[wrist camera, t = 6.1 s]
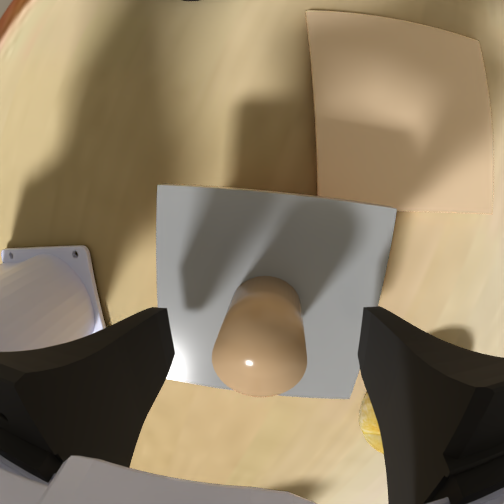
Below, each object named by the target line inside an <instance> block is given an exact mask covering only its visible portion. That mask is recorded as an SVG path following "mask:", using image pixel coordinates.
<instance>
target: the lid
mask: <svg viewBox="0 0 504 504" xmlns="http://www.w3.org/2000/svg"><path fill="white" fill-rule="evenodd" d="M396 212H397V209H396V208H394V207H391V206H387V205H380V204H374V203H367V202H360V201H353V200H346V199H338V198H330V197H322V196H314V195H305V194H296V193H287V192H277V191H266V190H255V189H244V188H231V187H218V186H203V185H186V184H166V183H165V184H159V185H157V214H156V266H157V299H158V308H167V311H168V317H169V323H170V328H171V334H172V339H173V345H174V350H175V355H174V359H173V362H172V365H171V368H170V371H169V374H168V376H167V378H166V379H170V380H175V381H180V382H186V383H191V384H197V385H202V386H208V387H215V388H221V389H228V390H234V391H236V392H239V393H241V394H244V395H248V396H253V397H270V396H275V395H280V396H292V397H308V398H329V399H350V396H351V393H352V390H353V387H354V385H355V382H356V379H357V376H358V373H359V370H360V365H359V360H358V355H357V354H358V347H359V340H360V333H361V325H362V316H363V307H377V306H378V303H379V299H380V295H381V290H382V286H383V282H384V277H385V273H386V268H387V263H388V258H389V253H390V248H391V242H392V237H393V231H394V225H395V219H396Z"/></svg>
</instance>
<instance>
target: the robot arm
mask: <svg viewBox="0 0 504 504" xmlns="http://www.w3.org/2000/svg"><path fill="white" fill-rule="evenodd" d="M75 251H76V252H77V253H78V256H77V255H76V253H75ZM1 256H2V261H3V263H2V264H0V504H317V503H315V502H313V501H311V500H308V499H305V498H303V497H300V496H298V495H295V494H293V493H291V492H287V491H278V490H270V489H263V488H257V487H246V486H232V485H222V484H212V483H204V482H197V481H190V480H184V479H178V478H173V477H167V476H162V475H157V474H153V473H148V472H144V471H140V470H136V469H132V468H129V466H130V463H131V459H132V456H133V452H134V449H135V446H136V443H137V440H138V437H139V434H140V431H141V428H142V426H143V423H144V421H145V419H146V416H147V414H148V412H149V410H150V409H151V407H152V405H153V403H154V401H155V399H156V397H157V395H158V393H159V391H160V389H161V387H162V386H163V384H164V382H165V380H166V378H167V376H168V374H169V371H170V368H171V365H172V362H173V359H174V355H175V350H174V345H173V339H172V334H171V328H170V323H169V317H168V311H167V308H156V307H152V308H148V309H146V310H143V311H141V312H139V313H136V314H134V315H132V316H130V317H128V318H126V319H124V320H122V321H120V322H118V323H115V324H113V325H111V326H109V327H107V328H106V326H105V322H104V318H103V314H102V310H101V306H100V301H99V297H98V292H97V288H96V283H95V278H94V273H93V268H92V262H91V257H90V252H89V249H88V248H87V247H86V246H84V245H76V246H51V247H27V248H6V249H3V250H2V252H1ZM357 355H358V360H359V365H360V370H361V375H362V378H363V381H364V384H365V387H366V390H367V393H368V396H369V398H370V401H371V404H372V407H373V410H374V413H375V416H376V419H377V422H378V426H379V429H380V434H381V440H382V445H383V451H384V458H385V465H386V473H387V485H388V500H389V504H504V358H501V357H495V356H490V355H485V354H481V353H478V352H474V351H470V350H467V349H464V348H461V347H458V346H455V345H453V344H450V343H448V342H445V341H443V340H441V339H438V338H436V337H434V336H432V335H430V334H428V333H426V332H424V331H422V330H421V329H419V328H417V327H415V326H413V325H412V324H410V323H408V322H407V321H405V320H403V319H402V318H400V317H398V316H397V315H395V314H393V313H391V312H390V311H388V310H386V309H384V308H382V307H380V306H377V307H363V316H362V325H361V333H360V340H359V347H358V354H357Z"/></svg>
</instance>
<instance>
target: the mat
mask: <svg viewBox="0 0 504 504" xmlns="http://www.w3.org/2000/svg"><path fill="white" fill-rule="evenodd" d="M306 23H307V32H308V41H309V51H310V61H311V73H312V86H313V100H314V116H315V135H316V160H317V196H322V197H330V198H338V199H346V200H353V201H360V202H367V203H374V204H380V205H387V206H391V207H394V208H396V209H397V211H408V212H445V213H470V214H490V215H492V212H493V195H494V144H493V127H492V115H491V106H490V97H489V90H488V83H487V77H486V71H485V66H484V61H483V56H482V51H481V47H480V43H479V41H478V40H475V39H472V38H469V37H466V36H463V35H460V34H457V33H454V32H450V31H447V30H443V29H439V28H435V27H432V26H427V25H423V24H419V23H414V22H410V21H405V20H399V19H394V18H388V17H381V16H375V15H367V14H359V13H349V12H337V11H319V10H306Z"/></svg>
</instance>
